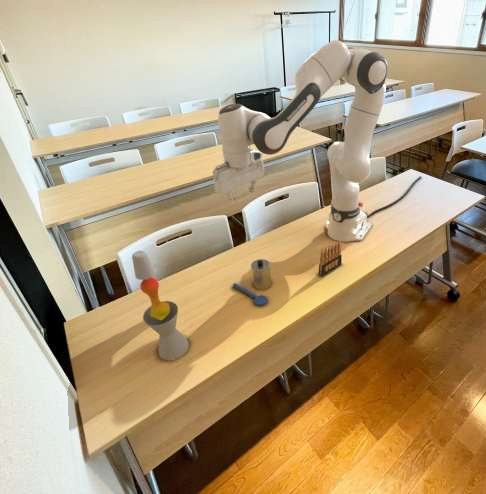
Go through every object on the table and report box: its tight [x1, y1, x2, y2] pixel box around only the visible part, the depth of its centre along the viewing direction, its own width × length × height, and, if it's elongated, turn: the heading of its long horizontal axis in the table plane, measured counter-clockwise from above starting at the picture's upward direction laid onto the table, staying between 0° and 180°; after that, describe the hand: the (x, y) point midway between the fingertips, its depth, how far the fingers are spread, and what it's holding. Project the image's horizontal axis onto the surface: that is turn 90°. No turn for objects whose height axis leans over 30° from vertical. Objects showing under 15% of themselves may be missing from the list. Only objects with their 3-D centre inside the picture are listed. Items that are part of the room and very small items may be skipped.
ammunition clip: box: [318, 239, 343, 277], centre depth 126 cm, size 11×2×12 cm, turn 131°
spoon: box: [232, 282, 268, 307], centre depth 118 cm, size 16×4×1 cm, turn 52°
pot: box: [250, 258, 272, 290], centre depth 120 cm, size 7×7×10 cm
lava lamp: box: [131, 250, 190, 361], centre depth 90 cm, size 9×9×35 cm
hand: (242, 196), depth 117 cm, fingers open, 8 cm apart
